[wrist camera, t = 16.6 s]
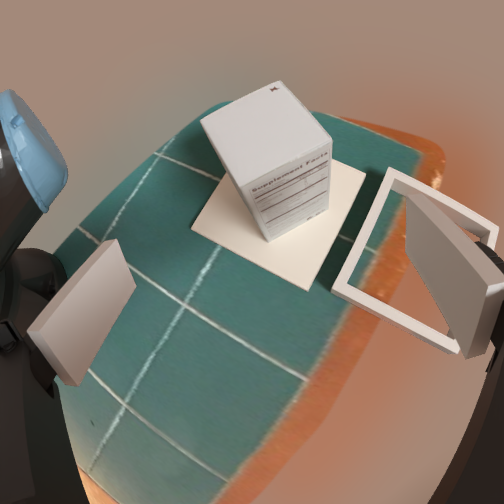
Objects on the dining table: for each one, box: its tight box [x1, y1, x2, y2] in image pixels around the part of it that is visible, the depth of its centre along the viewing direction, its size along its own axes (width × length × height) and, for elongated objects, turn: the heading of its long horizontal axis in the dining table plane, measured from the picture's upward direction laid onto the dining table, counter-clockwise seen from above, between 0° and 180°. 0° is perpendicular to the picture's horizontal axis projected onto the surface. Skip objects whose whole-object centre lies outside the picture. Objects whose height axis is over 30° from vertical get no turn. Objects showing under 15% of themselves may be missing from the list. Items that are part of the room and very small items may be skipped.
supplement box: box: [200, 80, 332, 243], centre depth 27 cm, size 7×7×13 cm
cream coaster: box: [191, 159, 366, 292], centre depth 33 cm, size 14×14×1 cm
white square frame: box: [331, 167, 499, 354], centre depth 28 cm, size 14×14×2 cm
